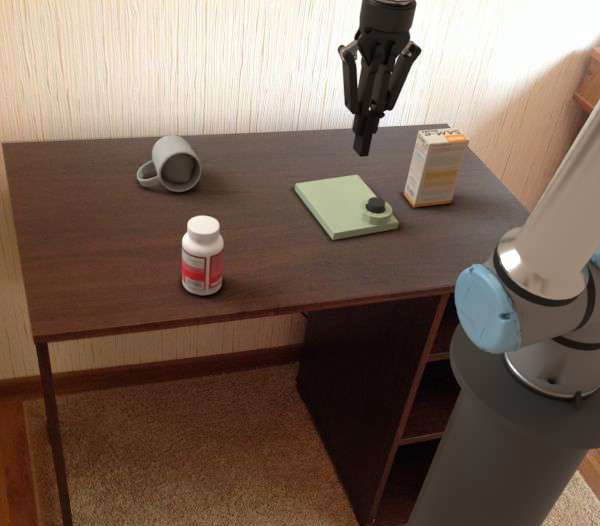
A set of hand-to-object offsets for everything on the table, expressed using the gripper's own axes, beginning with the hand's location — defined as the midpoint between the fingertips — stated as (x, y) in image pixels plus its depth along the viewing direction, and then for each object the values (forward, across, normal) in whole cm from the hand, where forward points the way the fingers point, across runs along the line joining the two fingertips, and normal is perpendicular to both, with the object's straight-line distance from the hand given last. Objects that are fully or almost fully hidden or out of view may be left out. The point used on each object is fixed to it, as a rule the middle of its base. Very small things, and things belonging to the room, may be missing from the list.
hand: (360, 151), depth 120 cm
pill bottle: (+15, +29, +8) cm, 33 cm away
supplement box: (+15, -20, -6) cm, 26 cm away
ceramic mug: (+15, +26, -22) cm, 37 cm away
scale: (+15, -3, -6) cm, 17 cm away
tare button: (+13, -6, -1) cm, 14 cm away
